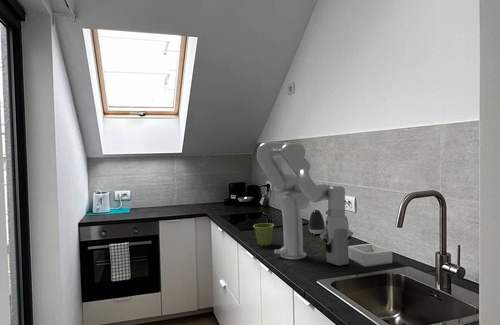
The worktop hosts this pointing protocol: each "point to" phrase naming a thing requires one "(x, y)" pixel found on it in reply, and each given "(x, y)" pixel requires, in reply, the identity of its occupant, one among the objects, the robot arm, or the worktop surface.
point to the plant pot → (264, 233)
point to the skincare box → (339, 248)
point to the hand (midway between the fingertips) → (336, 251)
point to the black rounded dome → (316, 222)
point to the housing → (369, 254)
